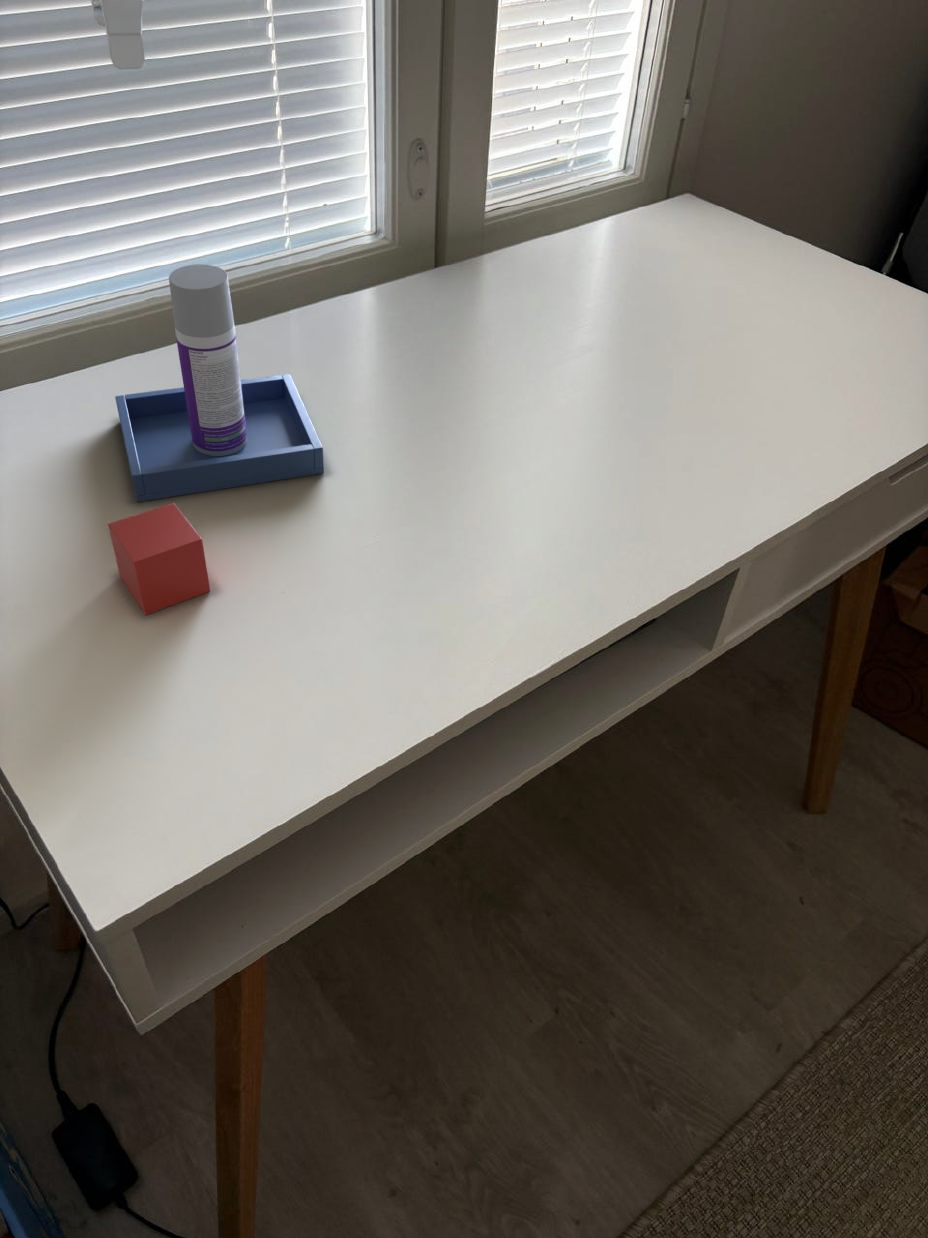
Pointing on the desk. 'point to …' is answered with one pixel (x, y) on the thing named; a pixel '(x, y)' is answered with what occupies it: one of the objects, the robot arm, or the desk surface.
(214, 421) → the container
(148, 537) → the red block
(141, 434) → the tray
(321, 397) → the desk surface
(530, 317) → the desk surface
